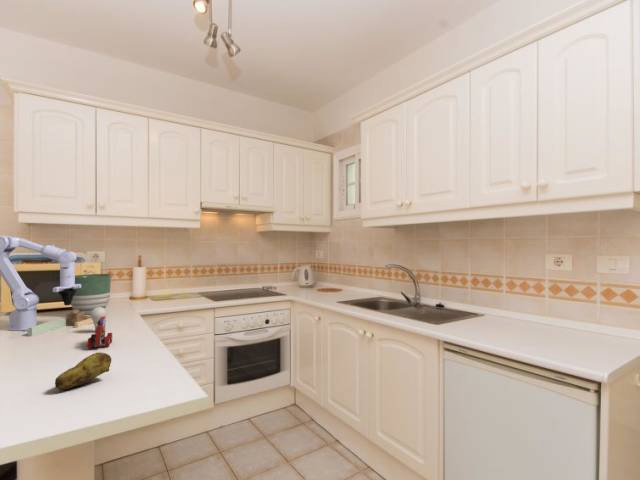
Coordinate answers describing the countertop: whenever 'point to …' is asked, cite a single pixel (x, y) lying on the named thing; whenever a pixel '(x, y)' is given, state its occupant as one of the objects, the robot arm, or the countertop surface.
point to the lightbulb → (97, 315)
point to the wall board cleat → (56, 325)
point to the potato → (84, 371)
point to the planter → (91, 292)
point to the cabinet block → (74, 317)
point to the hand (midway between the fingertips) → (67, 305)
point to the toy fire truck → (100, 335)
